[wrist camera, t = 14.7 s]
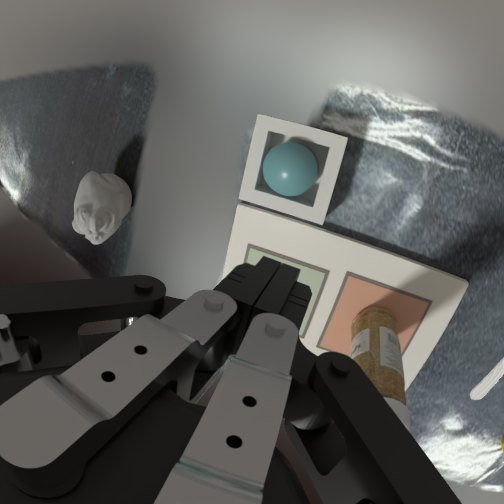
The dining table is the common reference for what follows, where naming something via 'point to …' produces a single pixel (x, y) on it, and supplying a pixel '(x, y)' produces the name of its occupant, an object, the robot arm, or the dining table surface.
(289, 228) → the picture board
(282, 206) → the button housing
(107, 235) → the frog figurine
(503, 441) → the watch
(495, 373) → the spoon
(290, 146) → the button
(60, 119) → the dining table surface
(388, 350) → the sprinkles bottle
